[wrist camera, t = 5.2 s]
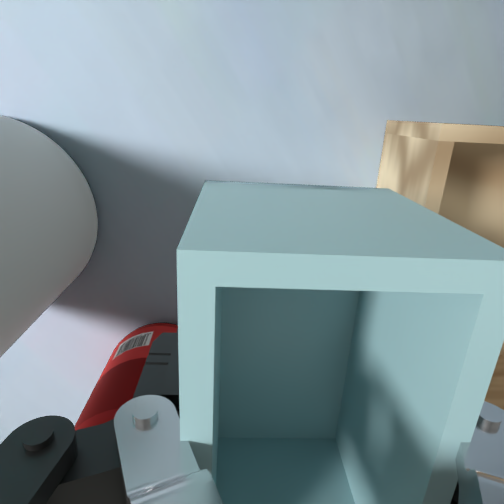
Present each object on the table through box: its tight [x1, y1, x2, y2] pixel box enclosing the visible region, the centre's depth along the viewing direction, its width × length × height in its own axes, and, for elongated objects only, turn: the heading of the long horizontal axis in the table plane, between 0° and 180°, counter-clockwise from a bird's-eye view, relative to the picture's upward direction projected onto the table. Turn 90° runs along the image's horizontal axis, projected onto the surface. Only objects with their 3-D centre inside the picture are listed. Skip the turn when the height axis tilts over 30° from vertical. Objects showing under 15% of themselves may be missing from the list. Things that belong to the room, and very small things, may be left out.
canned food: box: [75, 323, 178, 430], centre depth 25 cm, size 8×8×11 cm
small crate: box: [176, 181, 504, 504], centre depth 10 cm, size 10×6×6 cm, turn 177°
